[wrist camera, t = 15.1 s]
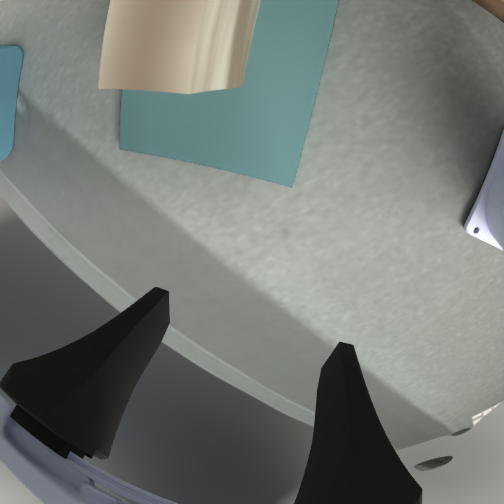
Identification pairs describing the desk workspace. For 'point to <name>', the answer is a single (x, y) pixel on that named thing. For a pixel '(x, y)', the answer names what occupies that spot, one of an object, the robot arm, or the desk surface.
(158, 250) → the desk surface
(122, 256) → the desk surface
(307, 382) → the desk surface
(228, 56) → the ash blank
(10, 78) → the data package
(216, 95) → the slate-teal mat
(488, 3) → the frame
